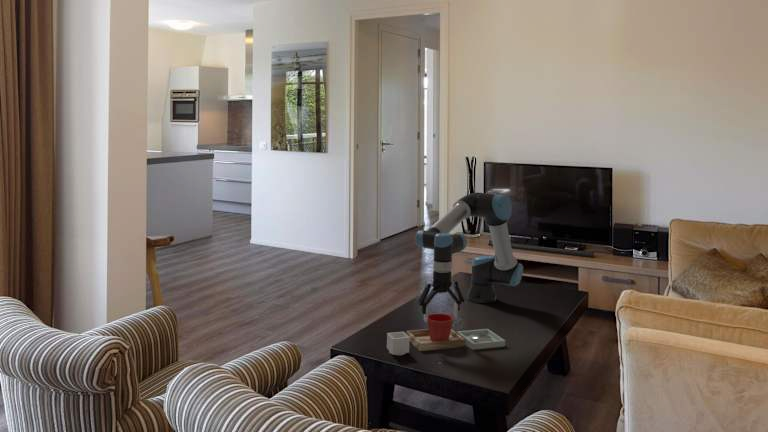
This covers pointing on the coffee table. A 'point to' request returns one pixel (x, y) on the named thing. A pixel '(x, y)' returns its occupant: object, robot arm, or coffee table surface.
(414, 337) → the wooden tray
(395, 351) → the white faceted planter
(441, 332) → the flower pot
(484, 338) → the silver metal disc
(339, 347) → the coffee table surface
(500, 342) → the pale green square tray
